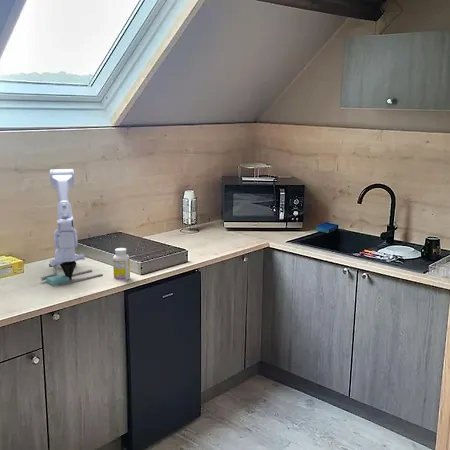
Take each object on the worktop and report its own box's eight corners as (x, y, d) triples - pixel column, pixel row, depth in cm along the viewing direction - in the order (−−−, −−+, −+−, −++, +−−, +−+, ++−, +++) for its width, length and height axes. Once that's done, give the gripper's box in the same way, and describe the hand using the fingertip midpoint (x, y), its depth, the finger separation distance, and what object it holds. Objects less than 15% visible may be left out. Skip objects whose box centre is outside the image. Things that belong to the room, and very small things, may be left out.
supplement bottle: (122, 275, 242) (121, 246, 240) (133, 278, 238) (132, 248, 236) (110, 279, 237) (109, 249, 235) (121, 282, 233) (119, 252, 230)
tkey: (59, 276, 238) (58, 260, 237) (61, 276, 237) (60, 261, 236) (40, 282, 230) (39, 266, 228) (42, 283, 229) (41, 267, 228)
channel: (49, 282, 233) (49, 279, 233) (90, 273, 246) (90, 269, 245) (61, 288, 226) (60, 284, 226) (102, 277, 239) (102, 274, 239)
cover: (46, 285, 230) (46, 277, 230) (62, 281, 235) (62, 274, 234) (53, 289, 226) (53, 281, 226) (69, 285, 231) (69, 277, 230)
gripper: (55, 252, 223) (57, 285, 226) (88, 245, 233) (89, 277, 236) (46, 248, 228) (48, 281, 231) (79, 242, 238) (80, 274, 240)
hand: (68, 279), depth 233 cm, fingers closed
